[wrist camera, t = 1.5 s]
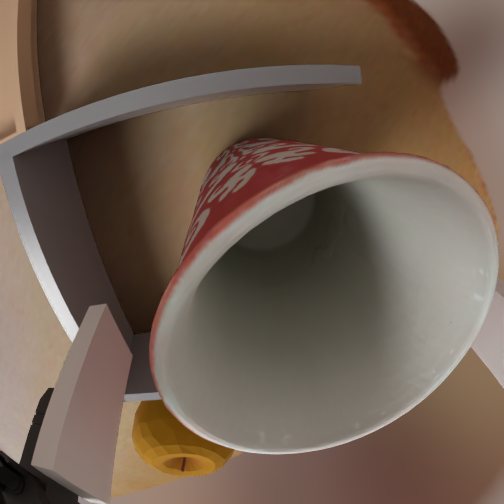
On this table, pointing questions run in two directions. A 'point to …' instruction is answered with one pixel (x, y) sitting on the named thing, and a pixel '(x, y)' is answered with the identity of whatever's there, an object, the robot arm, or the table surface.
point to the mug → (320, 294)
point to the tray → (19, 69)
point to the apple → (174, 443)
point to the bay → (71, 206)
